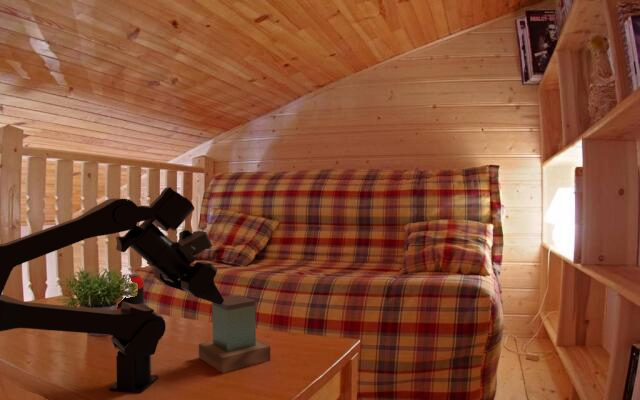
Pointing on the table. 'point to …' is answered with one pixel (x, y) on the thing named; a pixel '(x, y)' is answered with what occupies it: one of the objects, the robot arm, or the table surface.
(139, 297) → the soda can
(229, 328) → the tea tin
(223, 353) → the walnut block
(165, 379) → the table surface
